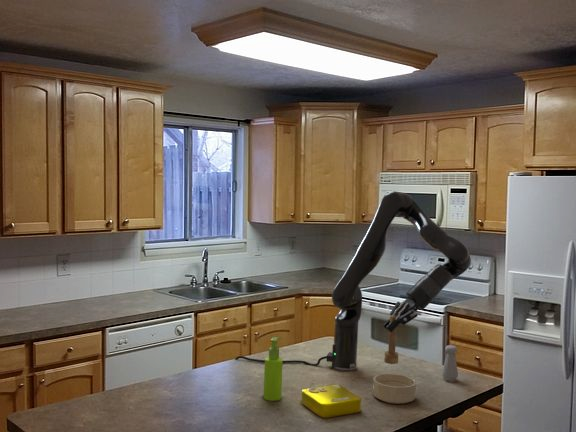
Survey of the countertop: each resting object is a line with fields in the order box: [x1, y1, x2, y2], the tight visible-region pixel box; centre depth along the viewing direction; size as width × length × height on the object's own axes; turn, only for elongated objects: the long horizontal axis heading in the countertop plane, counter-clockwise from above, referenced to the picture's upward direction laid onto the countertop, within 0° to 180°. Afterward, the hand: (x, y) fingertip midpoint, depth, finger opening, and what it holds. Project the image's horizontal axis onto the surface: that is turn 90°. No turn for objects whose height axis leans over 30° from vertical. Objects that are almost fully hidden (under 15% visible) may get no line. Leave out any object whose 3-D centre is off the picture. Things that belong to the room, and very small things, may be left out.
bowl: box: [372, 372, 417, 405], centre depth 200 cm, size 14×14×6 cm
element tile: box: [301, 383, 362, 419], centre depth 189 cm, size 15×15×5 cm
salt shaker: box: [441, 344, 459, 383], centre depth 220 cm, size 6×6×13 cm
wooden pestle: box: [383, 315, 399, 365], centre depth 191 cm, size 4×4×15 cm
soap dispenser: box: [263, 336, 284, 402], centre depth 196 cm, size 6×7×20 cm
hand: (386, 329), depth 190 cm, fingers closed on wooden pestle, 2 cm apart
